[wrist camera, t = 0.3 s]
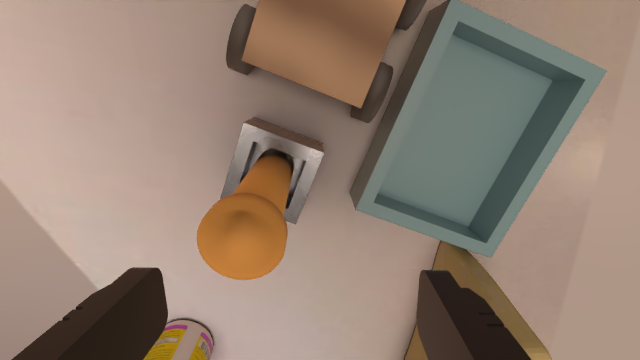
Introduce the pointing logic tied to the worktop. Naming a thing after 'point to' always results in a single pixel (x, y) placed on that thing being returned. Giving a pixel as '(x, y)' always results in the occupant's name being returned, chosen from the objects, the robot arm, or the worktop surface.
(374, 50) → the trolley
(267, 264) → the pin
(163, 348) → the supplement bottle
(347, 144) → the worktop surface
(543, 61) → the tray
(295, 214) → the pin socket
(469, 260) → the cheese
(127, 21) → the worktop surface
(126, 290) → the robot arm
